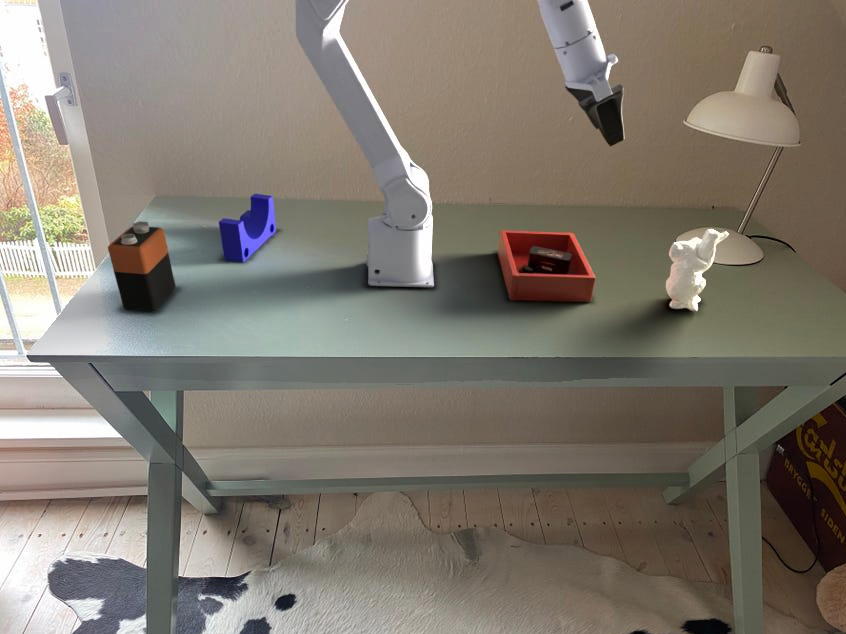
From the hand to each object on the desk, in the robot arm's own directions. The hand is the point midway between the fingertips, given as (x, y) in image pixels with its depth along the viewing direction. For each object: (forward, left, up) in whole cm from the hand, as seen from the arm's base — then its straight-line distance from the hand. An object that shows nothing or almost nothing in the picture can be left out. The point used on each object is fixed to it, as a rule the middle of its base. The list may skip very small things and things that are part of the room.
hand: (609, 133), depth 91 cm
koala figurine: (+14, -8, -23) cm, 27 cm away
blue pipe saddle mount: (-52, +8, -23) cm, 58 cm away
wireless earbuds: (-6, 0, -22) cm, 23 cm away
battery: (-61, -10, -23) cm, 66 cm away
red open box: (-6, 0, -22) cm, 23 cm away
